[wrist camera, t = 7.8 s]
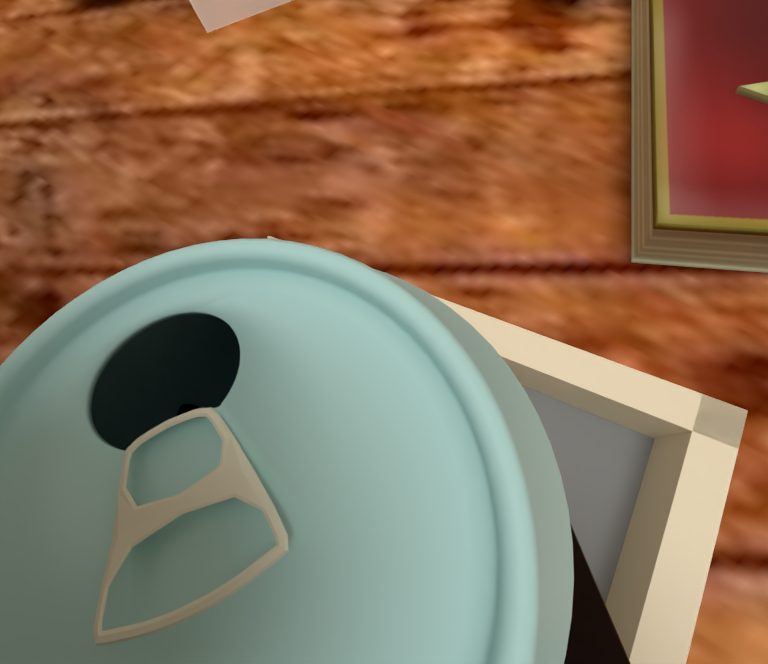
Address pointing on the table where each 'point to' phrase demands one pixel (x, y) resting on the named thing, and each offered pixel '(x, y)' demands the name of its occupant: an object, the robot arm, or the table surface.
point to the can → (274, 475)
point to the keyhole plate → (630, 479)
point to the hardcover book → (699, 133)
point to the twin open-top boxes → (229, 10)
